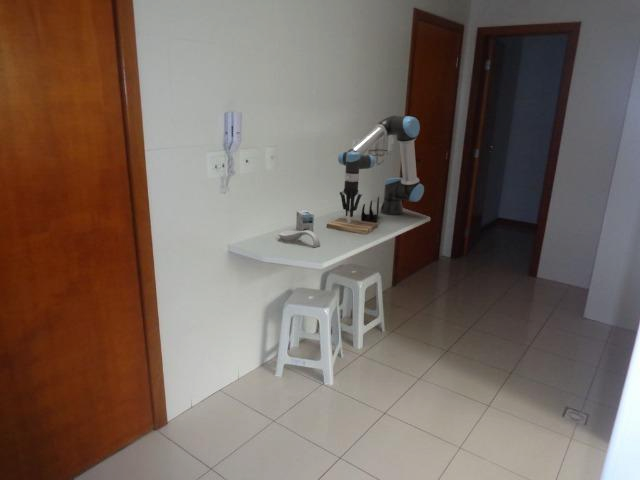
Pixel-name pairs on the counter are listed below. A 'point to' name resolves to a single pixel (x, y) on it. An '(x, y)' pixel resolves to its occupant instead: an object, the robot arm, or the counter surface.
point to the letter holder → (370, 214)
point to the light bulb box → (304, 220)
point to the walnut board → (359, 222)
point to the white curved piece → (296, 235)
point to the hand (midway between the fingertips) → (348, 222)
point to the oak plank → (349, 227)
